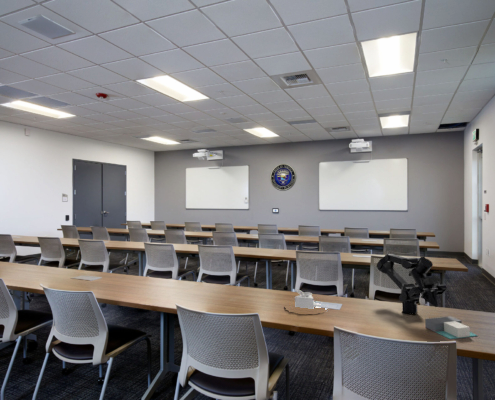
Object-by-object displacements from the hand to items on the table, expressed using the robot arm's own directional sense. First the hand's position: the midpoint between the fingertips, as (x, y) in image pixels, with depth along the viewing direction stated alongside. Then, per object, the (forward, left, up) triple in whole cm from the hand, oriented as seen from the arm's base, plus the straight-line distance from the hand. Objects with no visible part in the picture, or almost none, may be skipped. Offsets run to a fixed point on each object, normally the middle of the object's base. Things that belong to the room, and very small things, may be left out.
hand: (436, 306), depth 164 cm
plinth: (+3, -2, -9) cm, 10 cm away
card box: (+6, -5, -7) cm, 10 cm away
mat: (+9, -7, -9) cm, 15 cm away
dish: (-66, -11, -10) cm, 67 cm away
